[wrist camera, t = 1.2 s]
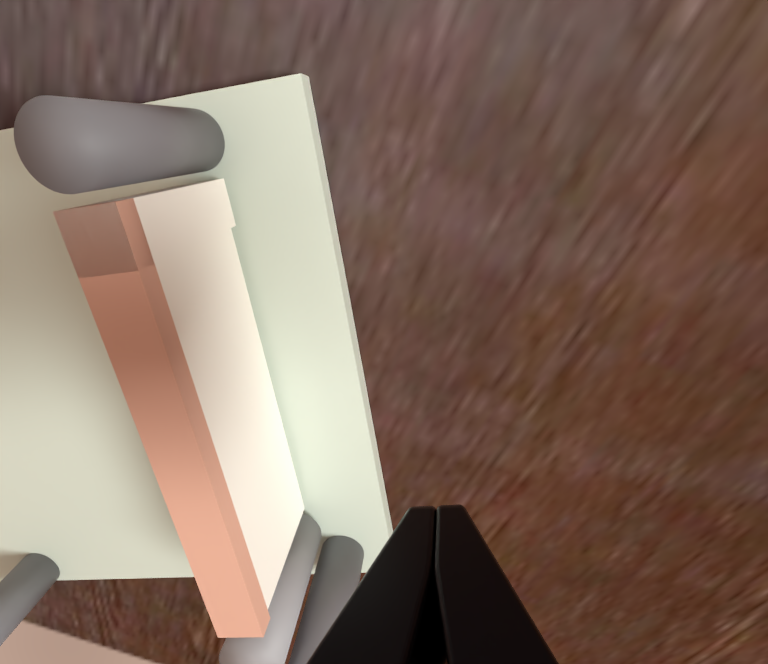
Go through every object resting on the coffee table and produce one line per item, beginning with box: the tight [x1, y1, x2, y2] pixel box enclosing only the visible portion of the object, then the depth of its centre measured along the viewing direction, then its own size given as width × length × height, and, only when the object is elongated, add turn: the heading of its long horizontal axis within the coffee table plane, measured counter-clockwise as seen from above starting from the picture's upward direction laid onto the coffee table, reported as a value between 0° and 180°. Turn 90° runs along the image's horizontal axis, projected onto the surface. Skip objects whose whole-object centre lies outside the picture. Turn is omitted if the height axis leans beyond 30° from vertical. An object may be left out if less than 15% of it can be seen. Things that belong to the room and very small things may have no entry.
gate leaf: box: [53, 178, 322, 664], centre depth 17 cm, size 16×2×6 cm, turn 9°
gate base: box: [0, 73, 393, 664], centre depth 18 cm, size 21×22×8 cm
